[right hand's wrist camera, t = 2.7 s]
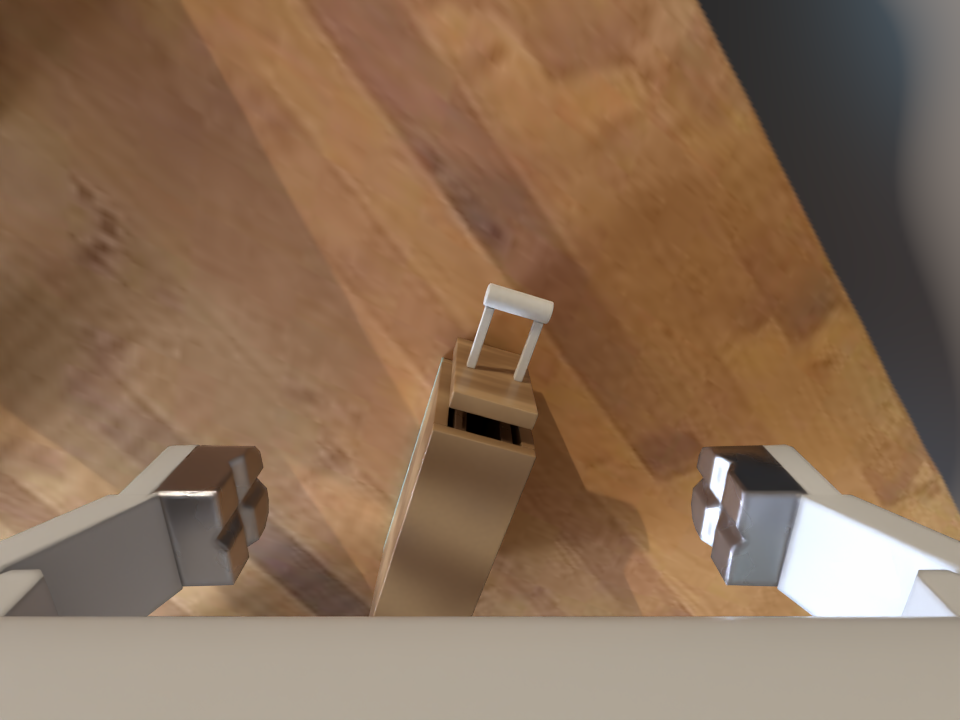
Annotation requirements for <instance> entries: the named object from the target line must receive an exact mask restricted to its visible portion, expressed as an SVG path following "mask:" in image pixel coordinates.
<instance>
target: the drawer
mask: <svg viewBox="0 0 960 720" xmlns="http://www.w3.org/2000/svg"><path fill="white" fill-rule="evenodd" d="M483 304H484V306H485V309H484V312H483V315H482V318H481V321H480V324H479V327H478V330H477V333H476V336H475V339H474V341H470V340H467V339H463V338H460V337H458V338H457V341H456V344H455V347H454V353H453V364H452V375H451V386H450V397H449V412H448V424H447V427H451V428H455V429H458V430H462V431H466V432H470V433H473V434H477V435H481V436H484V437H488V438H492V439H496V440H499V441H503V442H507V443H511V444H513V442H512V435H511V427H510V424H512V425H516V426H519V427H523V428H527V429H530V430H532V429H533V427H534V425H535V422H536V420H537V417H538V410H537V406H536V402H535V398H534V394H533V389H532V385H531V381H530V377H529V373H528V369H527V367H528V364H529V362H530V359H531V356H532V354H533V351H534V348H535V345H536V343H537V340H538V337H539V335H540V332H541V329H542V327H543V323H545V324H547V323H548V322H549V320H550V318H551V315H552V312H553V308H554V303H553V302H552V301H548V300H545V299H542V298H539V297H535V296H532V295H529V294H525V293H522V292H519V291H516V290H512V289H509V288H506V287H502V286H499V285H496V284H493V283H490V284H489V286H488V288H487V291H486V294H485V298H484V303H483ZM494 309H498V310H501V311H504V312H508V313H511V314H514V315H518V316H521V317H524V318H528V319H531V320H534V321H533V324H532V327H531V330H530V332H529V335H528V338H527V341H526V343H525V346H524V349H523V352H522V354H521V355H519V354H515V353H512V352H508V351H505V350H501V349H498V348H494V347H491V346H488V345H484V344H483V343H484V340H485V337H486V334H487V331H488V328H489V325H490V322H491V319H492V316H493V313H494Z"/></svg>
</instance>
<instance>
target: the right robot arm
mask: <svg viewBox="0 0 960 720" xmlns="http://www.w3.org/2000/svg"><path fill="white" fill-rule="evenodd" d="M262 469H263V464H262V459H261V454H260V451H259V450H258V449H257V448H256V447H255V446H215V445H202V446H200V445H174V446H168V447H167V448H166V449H165V450H164V451H163V452H162V453H161V454H160V455H159V456H158V457H157V458H156V459H155V460H154V461H153V462H152V463H150V464H149V465H148V466H147V467H146V468H145V469H144V470H143V471H142V472H141V473H140V474H139V475H138V476H137V477H136V478H135V479H134V480H133V481H132V482H131V483H130V484H129V485H128V486H127V487H126V488H125V489H123V490H122V491H121V492H120V493H119V494H118V495H107V496H105V497H103V498H100V499H98V500H96V501H93V502H91V503H89V504H86V505H84V506H82V507H79V508H77V509H75V510H72V511H70V512H67V513H65V514H63V515H60V516H58V517H56V518H53V519H51V520H49V521H46V522H44V523H42V524H39V525H37V526H35V527H32V528H30V529H28V530H25V531H23V532H21V533H18V534H16V535H14V536H11V537H9V538H7V539H4V540H2V541H0V720H960V541H958V540H955V539H953V538H951V537H948V536H946V535H944V534H941V533H939V532H937V531H934V530H932V529H930V528H927V527H925V526H923V525H920V524H918V523H916V522H913V521H911V520H909V519H906V518H904V517H902V516H899V515H897V514H895V513H892V512H890V511H888V510H885V509H883V508H881V507H878V506H876V505H874V504H871V503H869V502H867V501H864V500H862V499H860V498H857V497H855V496H853V495H842V494H841V493H840V492H839V491H838V490H837V489H836V488H835V487H833V486H832V485H831V484H830V483H829V482H828V481H827V480H826V479H825V478H824V477H823V476H822V475H821V474H820V473H819V472H818V471H817V470H816V469H815V468H814V467H813V466H812V465H811V464H810V463H809V462H808V461H807V460H806V459H804V458H803V457H802V456H801V455H800V454H799V453H798V452H797V451H796V450H795V449H794V448H793V447H791V446H788V445H759V446H718V447H703V448H702V450H701V452H700V454H699V458H698V463H697V469H698V470H699V472H700V473H701V475H702V476H703V479H702V480H701V481H700V482H699V483H698V484H697V485H696V486H695V487H694V488H693V493H692V501H691V508H692V519H693V522H694V525H695V529H696V531H697V533H698V535H699V537H700V538H701V540H703V541H704V542H706V543H707V544H709V545H710V546H712V547H713V548H712V553H711V558H712V560H713V562H714V564H715V565H716V567H717V569H718V571H719V572H720V574H721V576H722V578H723V579H724V581H725V583H726V585H745V586H778V588H777V589H779V590H780V591H781V592H782V593H784V594H785V595H786V596H788V597H789V598H790V599H792V600H793V601H794V602H795V603H797V604H798V605H799V606H801V607H802V608H803V609H805V610H806V611H807V612H808V613H810V614H811V615H812V616H148V615H149V614H150V613H152V612H153V611H154V610H156V609H157V608H158V607H160V606H161V605H162V604H163V603H165V602H166V601H167V600H169V599H170V598H171V597H173V596H174V595H175V594H177V593H178V592H179V591H180V590H182V586H214V585H234V583H235V581H236V580H237V578H238V576H239V574H240V572H241V571H242V569H243V567H244V565H245V564H246V562H247V560H248V558H249V553H248V548H247V547H248V546H250V545H251V544H253V543H254V542H256V541H257V540H259V538H260V537H261V535H262V533H263V531H264V529H265V526H266V521H267V517H268V513H269V499H268V493H267V488H266V487H265V486H264V485H263V484H262V483H261V482H260V481H259V480H258V479H257V476H258V475H259V473H260V472H261V470H262Z"/></svg>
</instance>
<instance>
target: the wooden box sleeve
mask: <svg viewBox="0 0 960 720" xmlns="http://www.w3.org/2000/svg"><path fill="white" fill-rule="evenodd" d="M452 364H453V361H452V360H448V359H445V358H443V357H442V360H441V363H440V367H439V370H438V373H437V376H436V380H435V383H434V386H433V389H432V393H431V396H430V399H429V402H428V405H427V409H426V412H425V415H424V418H423V422H422V425H421V428H420V431H419V435H418V438H417V441H416V444H415V448H414V451H413V454H412V457H411V461H410V464H409V467H408V470H407V473H406V477H405V480H404V483H403V486H402V490H401V493H400V496H399V499H398V503H397V506H396V509H395V512H394V516H393V519H392V522H391V525H390V528H389V532H388V535H387V538H386V541H385V545H384V549H383V554H382V559H381V563H380V568H379V573H378V577H377V582H376V586H375V591H374V596H373V600H372V605H371V609H370V614H369V616H472V615H473V612H474V610H475V607H476V605H477V602H478V600H479V597H480V595H481V592H482V590H483V587H484V585H485V583H486V580H487V578H488V575H489V573H490V570H491V568H492V565H493V563H494V560H495V558H496V555H497V553H498V550H499V548H500V546H501V543H502V541H503V538H504V536H505V533H506V531H507V528H508V526H509V523H510V521H511V518H512V516H513V514H514V511H515V509H516V506H517V504H518V501H519V499H520V496H521V494H522V491H523V489H524V486H525V484H526V481H527V479H528V477H529V474H530V472H531V469H532V467H533V464H534V462H535V459H536V453H535V447H534V442H533V437H532V432H531V430H530V429H527V428H523V427H519V426H516V425H512V424H510V427H511V435H512V442H513V444H511V443H507V442H503V441H499V440H496V439H492V438H488V437H484V436H481V435H477V434H473V433H470V432H466V431H462V430H458V429H455V428H451V427H447V424H448V412H449V397H450V386H451V375H452Z"/></svg>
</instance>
